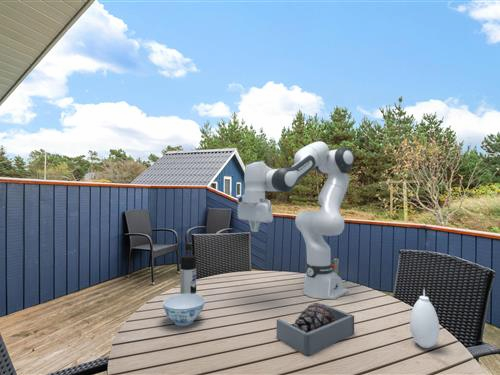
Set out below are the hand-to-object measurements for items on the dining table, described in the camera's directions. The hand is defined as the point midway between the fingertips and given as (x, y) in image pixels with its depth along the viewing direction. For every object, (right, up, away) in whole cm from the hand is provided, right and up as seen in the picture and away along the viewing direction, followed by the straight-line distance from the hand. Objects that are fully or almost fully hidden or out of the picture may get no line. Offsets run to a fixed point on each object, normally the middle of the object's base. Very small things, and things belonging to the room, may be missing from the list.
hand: (254, 231), depth 123 cm
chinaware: (-26, -31, -16) cm, 43 cm away
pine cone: (+19, -31, -27) cm, 45 cm away
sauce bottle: (+52, -31, -32) cm, 69 cm away
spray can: (-28, -31, +2) cm, 42 cm away
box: (+20, -31, -26) cm, 45 cm away
